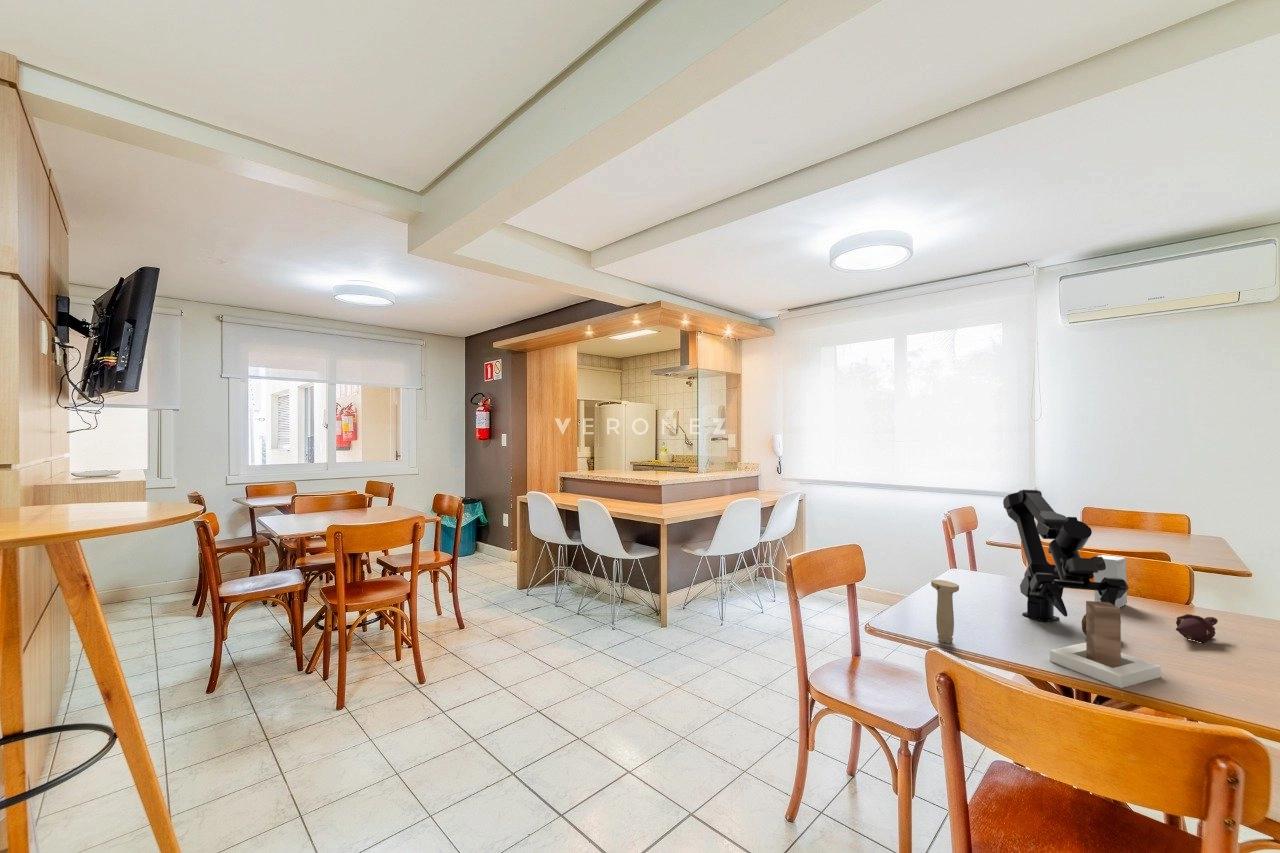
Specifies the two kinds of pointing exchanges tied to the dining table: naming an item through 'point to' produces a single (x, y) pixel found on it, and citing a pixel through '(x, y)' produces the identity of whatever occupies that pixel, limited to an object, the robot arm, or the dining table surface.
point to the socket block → (1119, 676)
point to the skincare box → (1112, 575)
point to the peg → (1103, 633)
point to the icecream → (1196, 627)
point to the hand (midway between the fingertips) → (1089, 617)
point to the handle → (945, 609)
